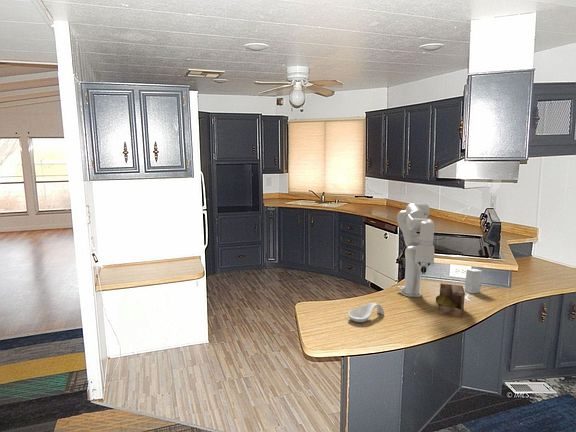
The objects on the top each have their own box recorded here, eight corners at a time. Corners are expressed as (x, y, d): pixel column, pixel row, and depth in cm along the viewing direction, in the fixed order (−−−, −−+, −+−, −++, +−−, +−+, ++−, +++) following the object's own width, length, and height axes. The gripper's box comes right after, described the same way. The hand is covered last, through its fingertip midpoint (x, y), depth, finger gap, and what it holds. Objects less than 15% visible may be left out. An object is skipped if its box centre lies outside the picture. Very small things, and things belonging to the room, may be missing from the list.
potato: (449, 315, 236) (450, 301, 234) (432, 307, 247) (433, 294, 246) (460, 312, 239) (461, 299, 238) (442, 305, 251) (444, 292, 249)
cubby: (439, 313, 237) (441, 290, 235) (438, 305, 251) (440, 283, 248) (462, 316, 233) (464, 293, 231) (460, 307, 247) (462, 285, 245)
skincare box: (471, 293, 271) (473, 271, 269) (464, 290, 277) (466, 269, 275) (480, 292, 275) (483, 270, 272) (473, 289, 280) (475, 268, 278)
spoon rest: (359, 327, 218) (359, 313, 216) (343, 319, 227) (343, 306, 226) (388, 316, 232) (389, 304, 231) (372, 310, 241) (373, 298, 240)
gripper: (412, 242, 239) (409, 273, 243) (440, 245, 235) (437, 276, 238) (412, 239, 246) (410, 269, 250) (439, 242, 242) (436, 272, 245)
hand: (423, 273), depth 244 cm, fingers closed
